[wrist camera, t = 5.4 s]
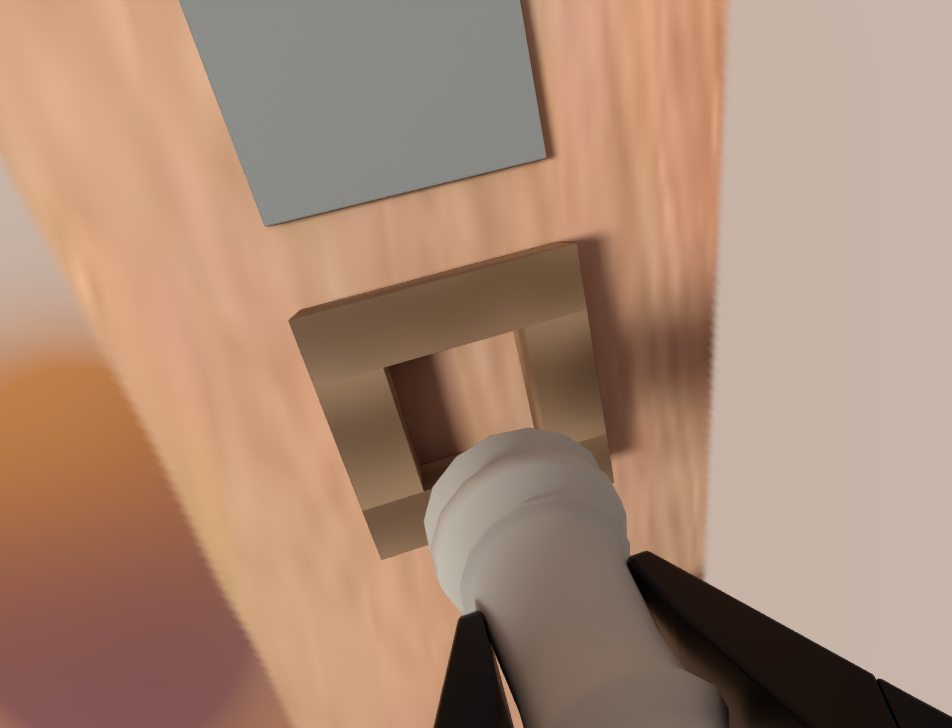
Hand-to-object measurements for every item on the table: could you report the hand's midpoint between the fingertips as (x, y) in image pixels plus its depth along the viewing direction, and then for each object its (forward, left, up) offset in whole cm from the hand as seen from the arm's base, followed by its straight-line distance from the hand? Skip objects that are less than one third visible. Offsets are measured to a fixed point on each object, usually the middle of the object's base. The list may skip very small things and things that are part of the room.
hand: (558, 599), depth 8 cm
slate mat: (+14, 0, -11) cm, 18 cm away
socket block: (0, 0, -11) cm, 11 cm away
